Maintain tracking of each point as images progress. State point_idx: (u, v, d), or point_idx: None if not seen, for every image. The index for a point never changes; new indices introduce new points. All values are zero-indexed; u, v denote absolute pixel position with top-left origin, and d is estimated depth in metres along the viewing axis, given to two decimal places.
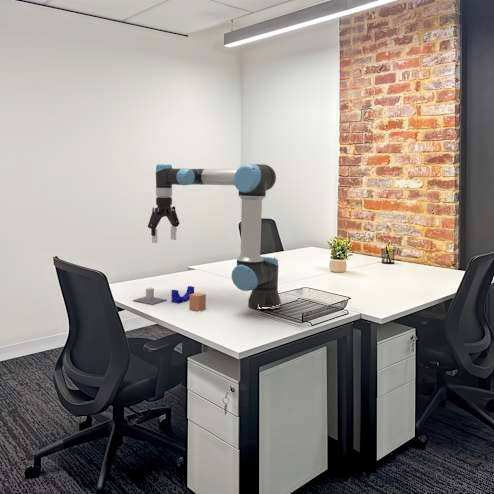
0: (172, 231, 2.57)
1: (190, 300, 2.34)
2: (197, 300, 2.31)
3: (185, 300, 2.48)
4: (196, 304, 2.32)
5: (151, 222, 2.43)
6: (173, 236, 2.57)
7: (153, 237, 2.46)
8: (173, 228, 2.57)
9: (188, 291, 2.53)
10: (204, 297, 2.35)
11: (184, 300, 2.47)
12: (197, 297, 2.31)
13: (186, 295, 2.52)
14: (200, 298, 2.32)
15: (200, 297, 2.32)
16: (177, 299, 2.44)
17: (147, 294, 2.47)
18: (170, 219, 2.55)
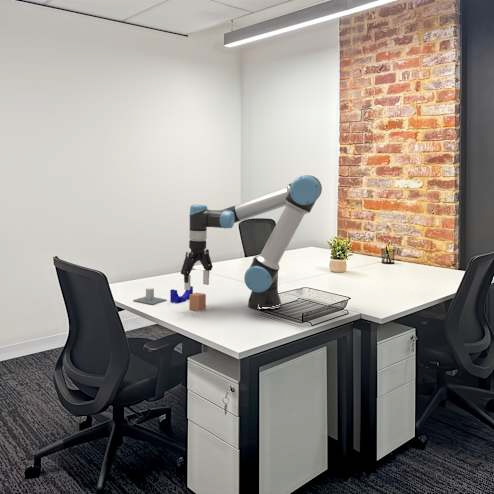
0: (205, 275, 2.39)
1: (190, 300, 2.34)
2: (197, 300, 2.31)
3: (184, 300, 2.48)
4: (196, 304, 2.32)
5: (184, 268, 2.25)
6: (206, 281, 2.39)
7: (186, 284, 2.28)
8: (206, 272, 2.38)
9: (187, 291, 2.54)
10: (204, 297, 2.35)
11: (183, 300, 2.48)
12: (197, 297, 2.31)
13: (185, 295, 2.53)
14: (200, 298, 2.32)
15: (200, 297, 2.32)
16: (176, 299, 2.45)
17: (147, 294, 2.47)
18: (203, 263, 2.36)
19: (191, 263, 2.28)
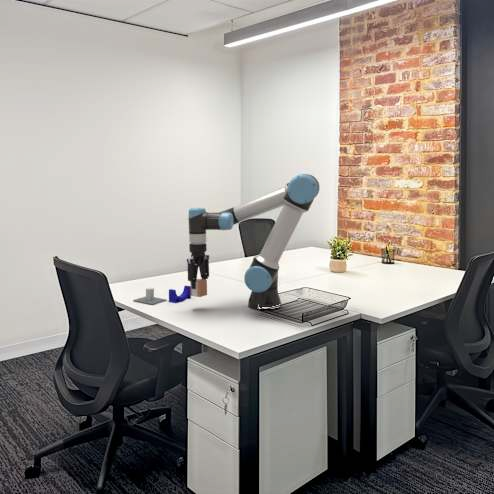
0: None
1: (191, 286, 2.33)
2: (198, 286, 2.31)
3: (182, 299, 2.49)
4: None
5: (190, 275, 2.27)
6: None
7: (193, 290, 2.31)
8: None
9: (185, 291, 2.54)
10: (205, 283, 2.34)
11: (181, 299, 2.48)
12: (198, 283, 2.30)
13: (183, 294, 2.53)
14: (201, 284, 2.31)
15: (201, 283, 2.31)
16: (174, 298, 2.45)
17: (147, 294, 2.47)
18: (201, 269, 2.34)
19: (195, 268, 2.30)
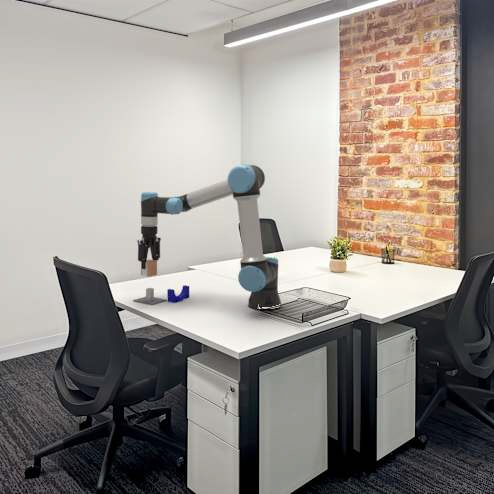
0: None
1: None
2: (148, 266, 2.43)
3: (181, 299, 2.49)
4: None
5: (140, 256, 2.40)
6: None
7: (143, 270, 2.43)
8: None
9: (183, 291, 2.55)
10: (155, 264, 2.46)
11: (180, 299, 2.49)
12: (148, 263, 2.42)
13: (181, 294, 2.53)
14: (151, 264, 2.43)
15: (151, 263, 2.43)
16: (173, 298, 2.45)
17: (147, 294, 2.47)
18: (152, 250, 2.46)
19: (145, 249, 2.42)
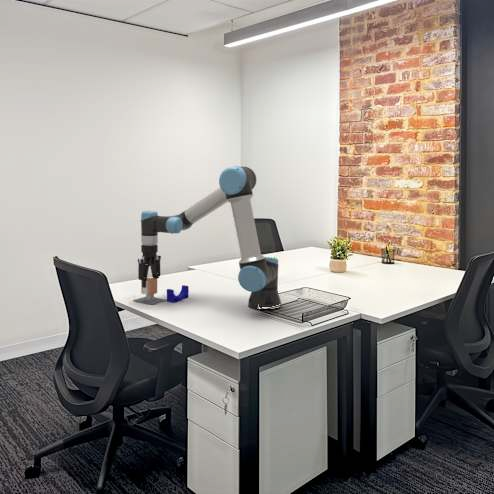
0: None
1: None
2: (148, 284, 2.44)
3: (180, 299, 2.49)
4: None
5: (140, 275, 2.41)
6: None
7: (144, 289, 2.45)
8: None
9: (183, 290, 2.55)
10: (155, 282, 2.47)
11: (179, 299, 2.49)
12: (148, 282, 2.44)
13: (181, 294, 2.54)
14: (151, 283, 2.44)
15: (151, 282, 2.44)
16: (172, 298, 2.46)
17: None
18: (153, 268, 2.48)
19: (145, 268, 2.43)
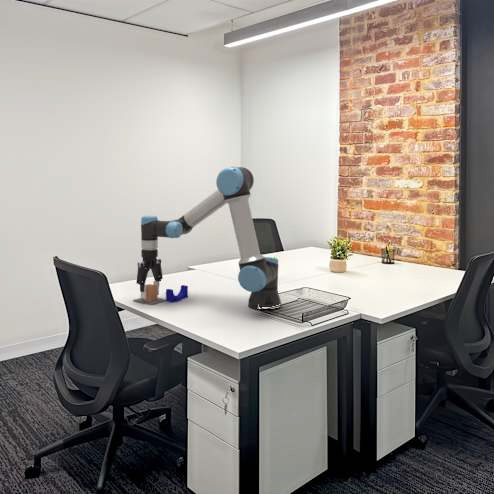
0: None
1: None
2: (148, 291, 2.44)
3: (179, 299, 2.49)
4: (148, 295, 2.45)
5: (139, 278, 2.40)
6: None
7: (142, 293, 2.44)
8: (156, 283, 2.50)
9: (182, 290, 2.55)
10: (156, 288, 2.47)
11: (179, 299, 2.49)
12: (148, 288, 2.44)
13: (180, 294, 2.54)
14: (151, 289, 2.45)
15: (151, 288, 2.45)
16: (172, 298, 2.46)
17: None
18: (154, 272, 2.49)
19: (145, 272, 2.43)
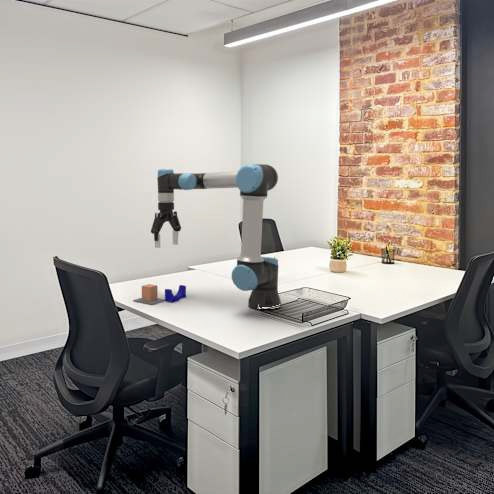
0: (174, 236, 2.57)
1: (142, 291, 2.46)
2: (148, 291, 2.44)
3: (178, 299, 2.50)
4: (148, 295, 2.45)
5: (154, 227, 2.42)
6: (175, 241, 2.57)
7: (156, 242, 2.46)
8: (175, 233, 2.57)
9: (180, 290, 2.55)
10: (156, 288, 2.47)
11: (177, 299, 2.49)
12: (148, 288, 2.44)
13: (178, 294, 2.54)
14: (151, 289, 2.45)
15: (151, 288, 2.45)
16: (171, 298, 2.46)
17: None
18: (172, 224, 2.54)
19: (160, 223, 2.46)
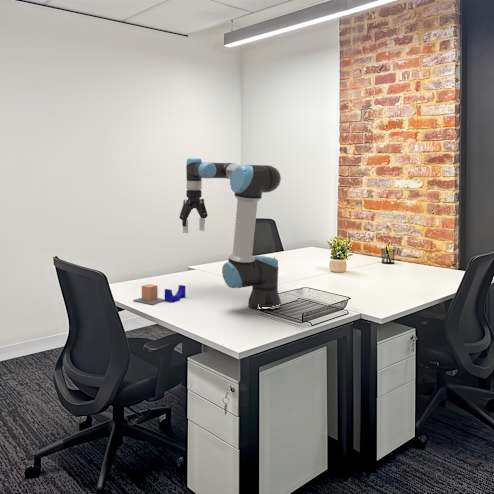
0: (201, 222, 2.71)
1: (142, 291, 2.46)
2: (148, 291, 2.44)
3: (178, 299, 2.50)
4: (148, 295, 2.45)
5: (182, 213, 2.56)
6: (202, 227, 2.71)
7: (184, 228, 2.59)
8: (202, 219, 2.70)
9: (180, 290, 2.55)
10: (156, 288, 2.47)
11: (177, 299, 2.49)
12: (148, 288, 2.44)
13: (178, 294, 2.54)
14: (151, 289, 2.45)
15: (151, 288, 2.45)
16: (171, 298, 2.46)
17: None
18: (199, 211, 2.68)
19: (188, 209, 2.59)
